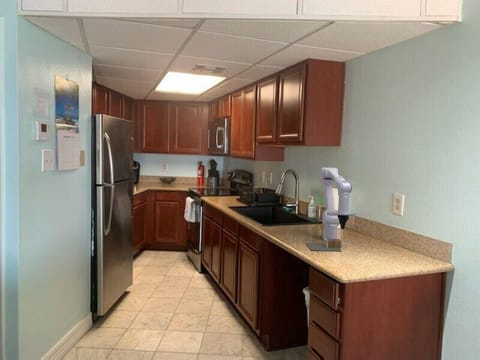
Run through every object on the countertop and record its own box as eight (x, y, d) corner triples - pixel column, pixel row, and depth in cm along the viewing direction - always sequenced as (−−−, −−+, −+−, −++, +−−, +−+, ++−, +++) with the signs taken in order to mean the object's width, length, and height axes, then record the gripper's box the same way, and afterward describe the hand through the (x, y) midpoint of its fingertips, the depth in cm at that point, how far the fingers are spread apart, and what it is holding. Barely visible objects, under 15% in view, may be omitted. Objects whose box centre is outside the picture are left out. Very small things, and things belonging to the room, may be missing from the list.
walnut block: (338, 246, 208) (324, 245, 207) (339, 239, 207) (324, 238, 207) (340, 248, 204) (326, 247, 203) (341, 240, 203) (326, 240, 203)
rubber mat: (305, 244, 212) (305, 243, 212) (334, 244, 213) (334, 243, 213) (311, 251, 198) (311, 249, 198) (341, 251, 199) (341, 250, 199)
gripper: (332, 205, 201) (331, 230, 203) (359, 205, 202) (357, 230, 203) (329, 203, 208) (327, 227, 210) (355, 203, 209) (353, 228, 210)
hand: (342, 228), depth 207 cm, fingers closed
